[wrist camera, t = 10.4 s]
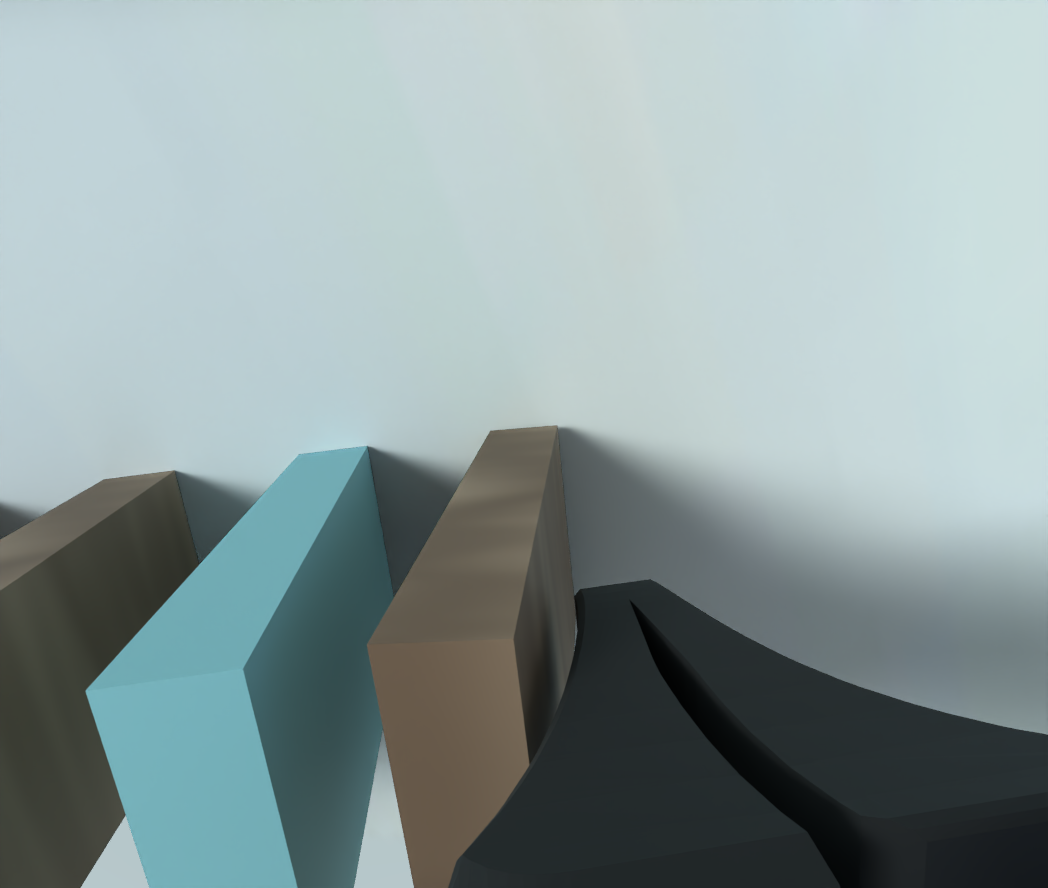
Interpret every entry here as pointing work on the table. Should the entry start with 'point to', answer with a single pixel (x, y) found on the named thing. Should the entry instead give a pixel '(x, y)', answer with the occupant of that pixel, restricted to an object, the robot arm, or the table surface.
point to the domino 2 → (258, 694)
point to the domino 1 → (75, 663)
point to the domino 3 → (477, 648)
